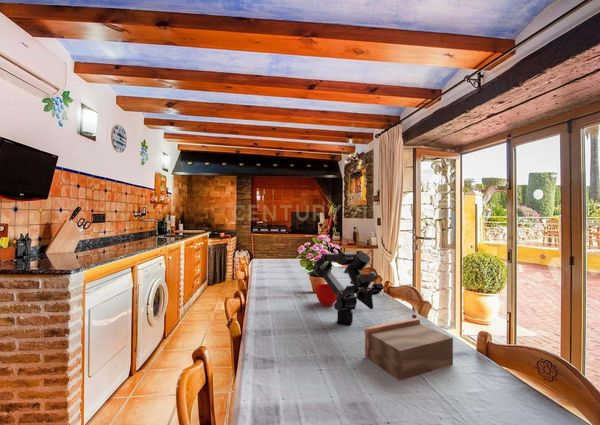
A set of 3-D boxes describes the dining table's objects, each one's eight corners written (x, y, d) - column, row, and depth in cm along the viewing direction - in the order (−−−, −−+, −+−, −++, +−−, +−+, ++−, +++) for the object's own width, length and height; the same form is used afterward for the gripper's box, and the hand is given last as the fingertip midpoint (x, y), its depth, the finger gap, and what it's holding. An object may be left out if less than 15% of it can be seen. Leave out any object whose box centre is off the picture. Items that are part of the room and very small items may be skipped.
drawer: (364, 356, 101) (365, 327, 101) (416, 343, 112) (416, 318, 112) (393, 376, 88) (394, 344, 88) (449, 360, 99) (449, 331, 99)
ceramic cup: (327, 311, 150) (327, 292, 151) (311, 302, 165) (311, 285, 166) (347, 307, 156) (347, 289, 157) (330, 299, 171) (330, 283, 172)
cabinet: (369, 359, 100) (369, 333, 100) (419, 347, 110) (419, 323, 110) (399, 380, 87) (399, 350, 87) (452, 364, 97) (452, 337, 97)
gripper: (346, 266, 118) (362, 301, 108) (381, 264, 126) (399, 296, 116) (335, 281, 125) (350, 315, 115) (369, 278, 133) (386, 309, 123)
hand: (372, 308), depth 117 cm, fingers closed
